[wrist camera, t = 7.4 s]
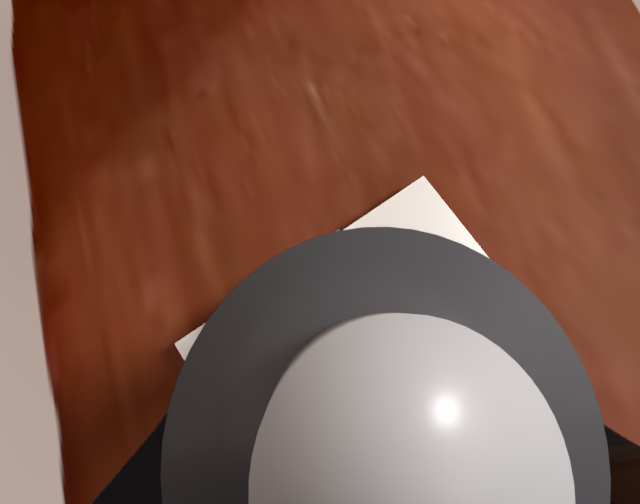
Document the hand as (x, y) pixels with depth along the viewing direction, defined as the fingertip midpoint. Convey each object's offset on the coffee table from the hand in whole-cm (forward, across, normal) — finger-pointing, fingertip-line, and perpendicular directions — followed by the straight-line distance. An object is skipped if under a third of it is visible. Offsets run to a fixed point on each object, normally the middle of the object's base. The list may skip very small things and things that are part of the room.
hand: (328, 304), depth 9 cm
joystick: (+4, 0, +6) cm, 7 cm away
